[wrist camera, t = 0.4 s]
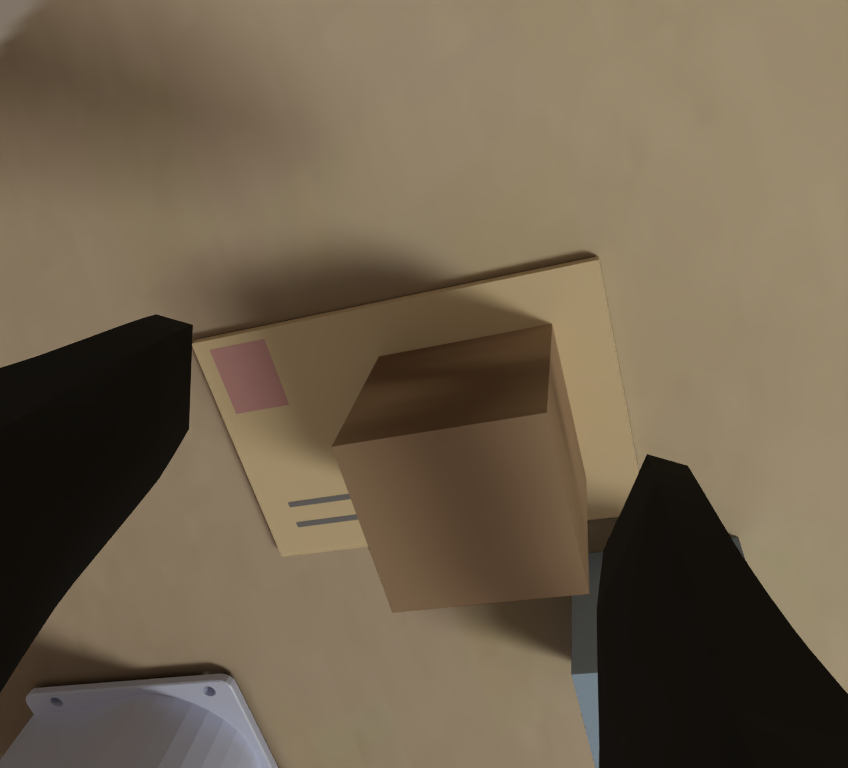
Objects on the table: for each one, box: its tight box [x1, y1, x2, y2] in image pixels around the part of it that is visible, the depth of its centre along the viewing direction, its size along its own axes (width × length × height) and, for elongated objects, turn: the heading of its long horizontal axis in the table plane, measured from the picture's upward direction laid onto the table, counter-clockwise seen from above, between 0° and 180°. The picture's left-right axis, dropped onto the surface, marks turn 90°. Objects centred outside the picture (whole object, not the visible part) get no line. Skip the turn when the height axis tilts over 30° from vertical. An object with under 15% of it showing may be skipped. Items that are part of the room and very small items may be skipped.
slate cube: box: [571, 537, 745, 768], centre depth 23 cm, size 5×5×5 cm
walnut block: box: [332, 324, 589, 613], centre depth 21 cm, size 5×5×5 cm
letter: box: [192, 256, 639, 557], centre depth 23 cm, size 12×8×1 cm, turn 106°
